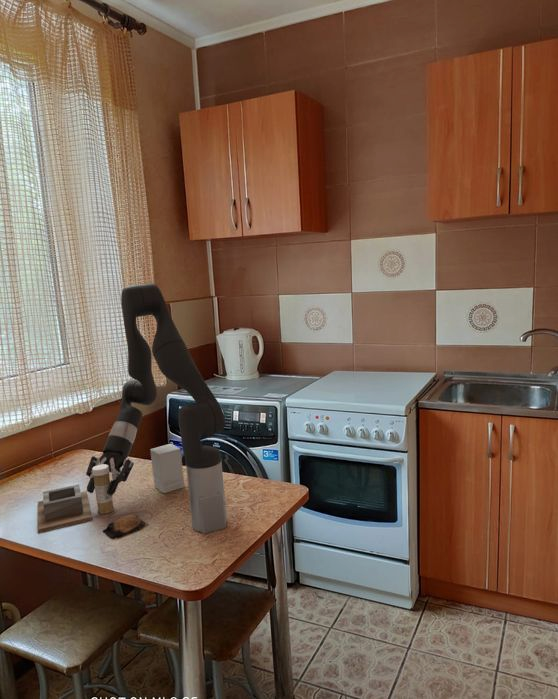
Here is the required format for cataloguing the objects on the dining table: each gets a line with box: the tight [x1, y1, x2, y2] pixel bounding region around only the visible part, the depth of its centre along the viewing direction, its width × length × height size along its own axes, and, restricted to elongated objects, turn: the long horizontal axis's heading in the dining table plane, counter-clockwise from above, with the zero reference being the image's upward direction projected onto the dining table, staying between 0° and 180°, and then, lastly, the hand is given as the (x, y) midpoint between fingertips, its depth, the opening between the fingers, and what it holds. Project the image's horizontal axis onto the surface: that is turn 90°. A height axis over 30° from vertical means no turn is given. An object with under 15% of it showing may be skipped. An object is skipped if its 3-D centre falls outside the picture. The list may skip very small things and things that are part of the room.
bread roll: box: [102, 514, 149, 540], centre depth 147 cm, size 11×8×4 cm
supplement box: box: [150, 443, 185, 494], centre depth 172 cm, size 7×7×13 cm
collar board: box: [37, 484, 94, 534], centre depth 159 cm, size 20×14×6 cm
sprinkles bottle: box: [92, 464, 115, 515], centre depth 157 cm, size 5×5×14 cm
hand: (99, 493), depth 156 cm, fingers open, 6 cm apart
